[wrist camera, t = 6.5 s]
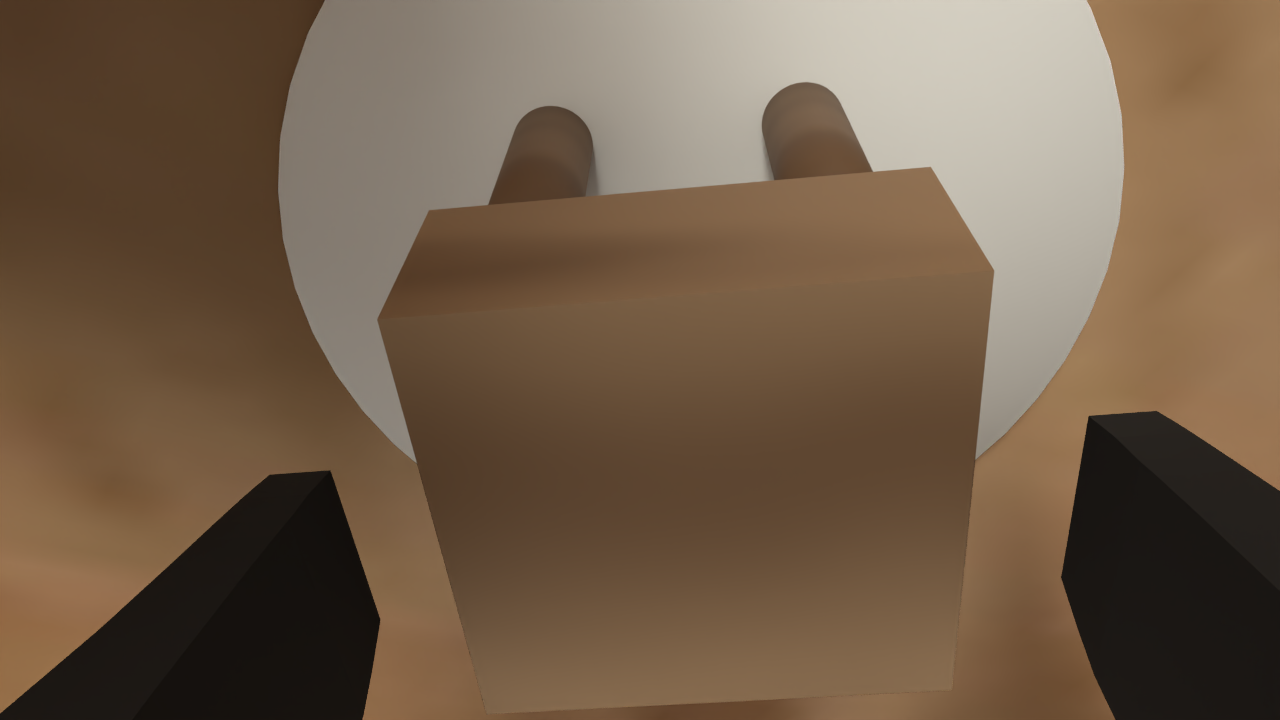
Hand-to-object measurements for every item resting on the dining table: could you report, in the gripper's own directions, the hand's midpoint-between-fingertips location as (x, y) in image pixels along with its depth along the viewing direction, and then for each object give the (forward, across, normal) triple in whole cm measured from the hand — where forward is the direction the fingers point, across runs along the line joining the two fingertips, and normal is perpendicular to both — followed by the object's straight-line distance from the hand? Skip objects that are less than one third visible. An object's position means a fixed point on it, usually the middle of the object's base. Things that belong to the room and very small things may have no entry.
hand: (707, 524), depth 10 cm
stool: (+6, 0, 0) cm, 6 cm away
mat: (+6, 0, 0) cm, 6 cm away
